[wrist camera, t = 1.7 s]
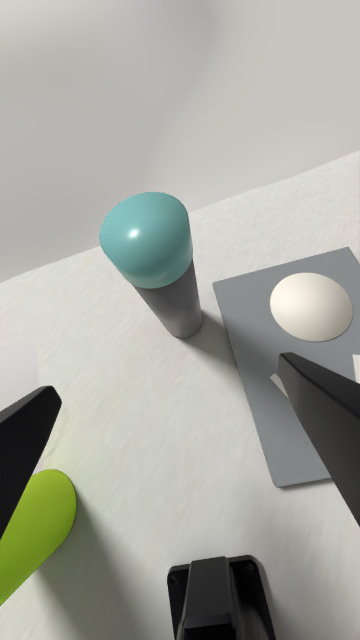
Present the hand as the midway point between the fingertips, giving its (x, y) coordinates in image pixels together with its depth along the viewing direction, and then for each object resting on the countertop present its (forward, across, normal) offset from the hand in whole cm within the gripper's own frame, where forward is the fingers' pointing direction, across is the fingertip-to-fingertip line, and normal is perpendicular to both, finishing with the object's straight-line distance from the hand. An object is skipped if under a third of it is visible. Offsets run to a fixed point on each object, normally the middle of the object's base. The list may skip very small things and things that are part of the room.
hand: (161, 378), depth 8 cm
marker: (+13, 0, +4) cm, 14 cm away
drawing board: (+10, -12, +7) cm, 17 cm away
